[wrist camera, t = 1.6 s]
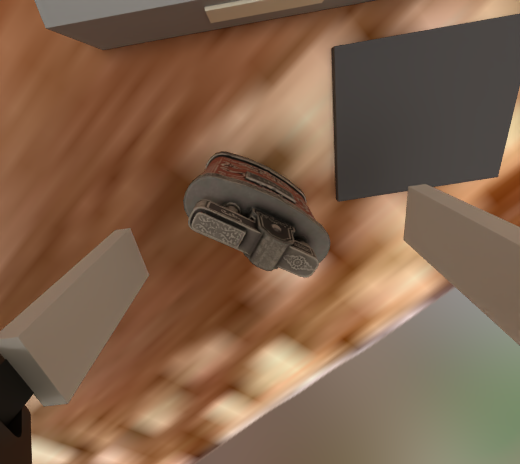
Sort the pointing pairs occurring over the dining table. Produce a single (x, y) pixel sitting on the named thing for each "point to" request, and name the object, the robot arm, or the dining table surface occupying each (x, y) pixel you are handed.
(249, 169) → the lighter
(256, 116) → the dining table surface
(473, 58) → the mat
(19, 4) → the dining table surface
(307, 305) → the dining table surface
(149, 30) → the button panel
